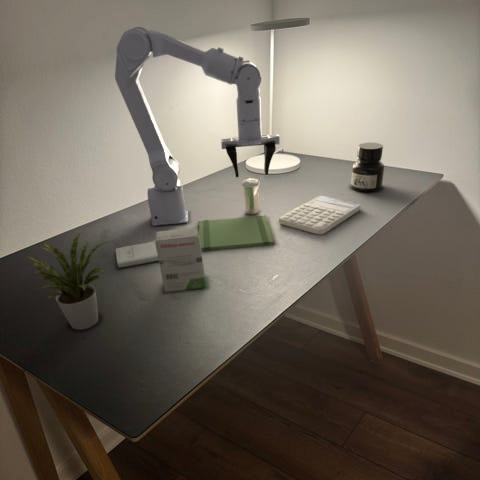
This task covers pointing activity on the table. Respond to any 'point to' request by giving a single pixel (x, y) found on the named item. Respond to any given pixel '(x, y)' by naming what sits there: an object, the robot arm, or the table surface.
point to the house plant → (73, 285)
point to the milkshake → (251, 195)
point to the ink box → (180, 259)
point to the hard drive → (136, 254)
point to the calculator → (320, 214)
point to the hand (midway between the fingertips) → (251, 174)
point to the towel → (235, 233)
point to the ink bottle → (368, 168)
